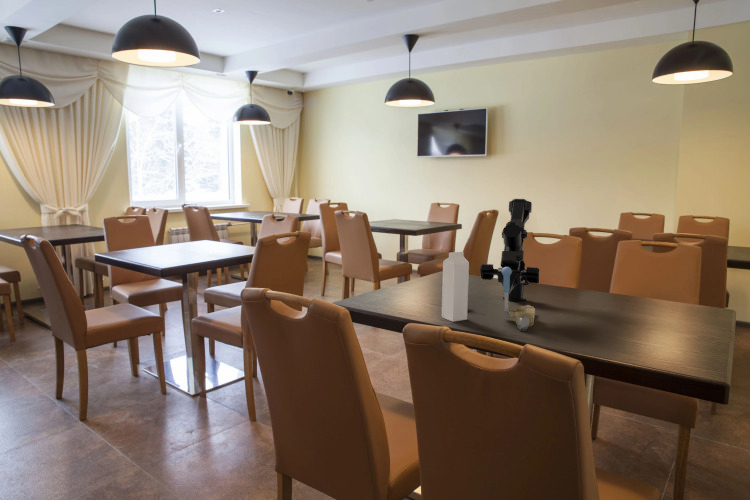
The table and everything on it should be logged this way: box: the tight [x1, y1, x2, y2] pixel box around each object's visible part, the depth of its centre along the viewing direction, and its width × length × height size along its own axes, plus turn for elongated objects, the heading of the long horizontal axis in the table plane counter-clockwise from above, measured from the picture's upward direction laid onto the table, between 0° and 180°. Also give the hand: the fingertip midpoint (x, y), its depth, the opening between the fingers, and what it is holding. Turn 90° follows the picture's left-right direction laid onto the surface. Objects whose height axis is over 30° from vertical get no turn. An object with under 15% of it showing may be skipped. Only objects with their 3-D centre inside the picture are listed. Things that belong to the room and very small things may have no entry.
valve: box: [508, 304, 536, 332], centre depth 160 cm, size 22×8×4 cm, turn 159°
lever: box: [502, 267, 512, 319], centre depth 159 cm, size 3×3×18 cm
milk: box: [441, 251, 470, 322], centre depth 162 cm, size 6×6×22 cm
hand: (506, 294), depth 160 cm, fingers closed, pressing on lever
